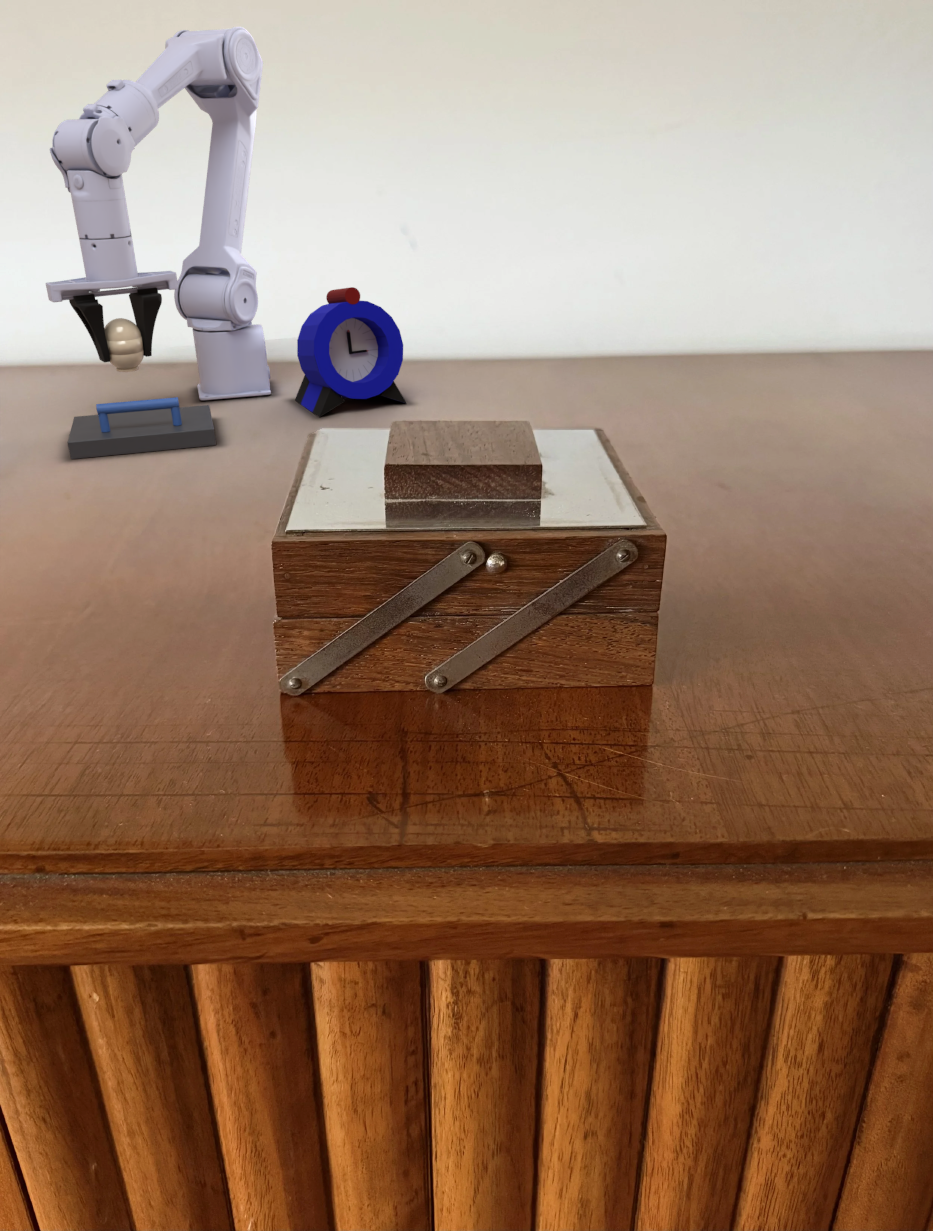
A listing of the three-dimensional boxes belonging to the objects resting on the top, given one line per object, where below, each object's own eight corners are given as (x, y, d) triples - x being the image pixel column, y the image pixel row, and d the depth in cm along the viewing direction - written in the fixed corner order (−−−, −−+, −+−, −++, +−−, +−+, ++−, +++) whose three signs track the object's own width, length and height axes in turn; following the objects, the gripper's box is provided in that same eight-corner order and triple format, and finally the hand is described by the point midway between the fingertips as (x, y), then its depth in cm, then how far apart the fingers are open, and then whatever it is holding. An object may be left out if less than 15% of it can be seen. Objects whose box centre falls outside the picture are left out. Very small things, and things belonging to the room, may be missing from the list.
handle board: (211, 420, 124) (205, 378, 122) (216, 445, 114) (210, 400, 112) (77, 432, 120) (68, 390, 118) (70, 459, 111) (61, 413, 108)
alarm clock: (321, 418, 124) (310, 294, 117) (289, 396, 133) (278, 280, 127) (409, 405, 129) (404, 285, 122) (373, 384, 138) (366, 272, 132)
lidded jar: (140, 363, 121) (131, 313, 119) (151, 370, 118) (143, 318, 115) (104, 368, 119) (94, 317, 117) (115, 375, 116) (105, 323, 113)
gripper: (156, 229, 118) (173, 344, 125) (30, 238, 111) (55, 360, 117) (176, 233, 113) (193, 353, 119) (45, 244, 106) (70, 370, 112)
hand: (126, 357), depth 118 cm, fingers closed on lidded jar, 4 cm apart
